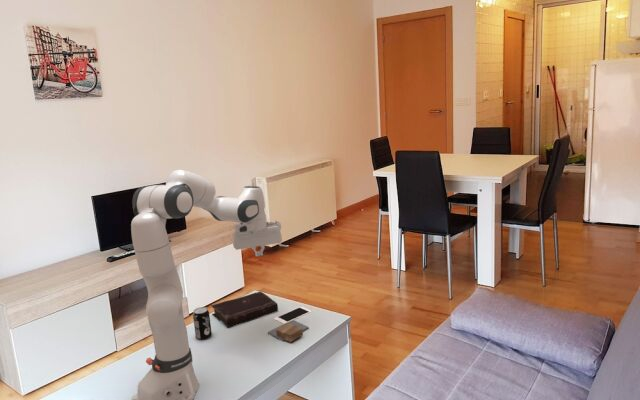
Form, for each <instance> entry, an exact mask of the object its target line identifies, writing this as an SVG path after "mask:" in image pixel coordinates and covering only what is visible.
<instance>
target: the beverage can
mask: <svg viewBox="0 0 640 400" xmlns="http://www.w3.org/2000/svg"><path fill="white" fill-rule="evenodd" d="M192 319H193V325H194V333H195V338H197V339H198V340H201V341H202V340H207V339H209V338H210V337H211V336H212V334H213V333H212V324H211V318H210V311H209V309H208V307H205V306H201V307H197V308H195V309H194V310H193V313H192Z"/></svg>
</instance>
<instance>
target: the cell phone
mask: <svg viewBox="0 0 640 400" xmlns="http://www.w3.org/2000/svg"><path fill="white" fill-rule="evenodd" d="M312 312H313V310H310V309H309V308H306V307H304V306H303V305H302V306H299V307H296V308H294V309H292V310H289V311H287V312H285V313H283V314H279V315H277V316H275V317H274V318H273V320H275V321H277V322H279V323H281V324H282V325H283V324H286V323H288V322H290V321H292V320H295V321H296V319H299V318H301V317H303V316H306V315H307V314H310V313H312Z"/></svg>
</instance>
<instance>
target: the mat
mask: <svg viewBox="0 0 640 400" xmlns="http://www.w3.org/2000/svg"><path fill="white" fill-rule="evenodd" d="M288 323H290V324H292V325H295V326H298V327H300V328H302V331H303V332H305V331H307V330H309V329H310V328H309V326H307V325H305V324H303V323H301V322H299V321H297V320H296V319H295V320H292V321H290V322H288ZM286 324H287V323H286ZM286 324H283V323H282V324H281V325H279V326H277V327H276V328H275V327H274V328H273V329H271V330H269V331H267V335H269V336H271V337H273V338H275V339H277V340H279V341H281V342H285V341H286V340H284V339H282V338H279V337H277V333H276V329H278V328H280V327H282V326H284V325H286Z"/></svg>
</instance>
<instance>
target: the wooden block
mask: <svg viewBox="0 0 640 400" xmlns="http://www.w3.org/2000/svg"><path fill="white" fill-rule="evenodd" d="M303 332H304V331H302V328H300V327H298V326H295V325H292V324H290V323H287V324H286V325H284V326H282V327H280V328H278V329H276V333H277V337H279V338H282V339H284V340H285V341H287V342H289V343H292V342H293V341H295V340H297V339H298V338H300V337H302V336H303Z"/></svg>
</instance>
